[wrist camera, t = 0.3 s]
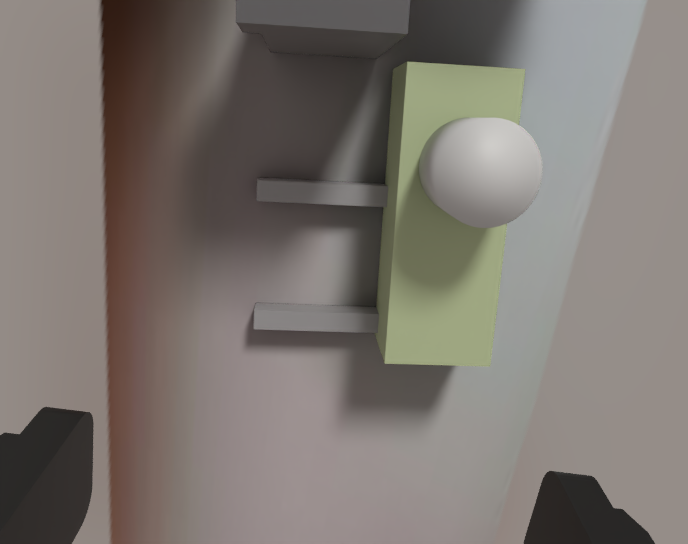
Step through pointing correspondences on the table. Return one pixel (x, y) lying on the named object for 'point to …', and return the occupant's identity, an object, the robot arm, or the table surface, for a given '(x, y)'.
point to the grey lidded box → (326, 25)
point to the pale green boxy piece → (432, 216)
